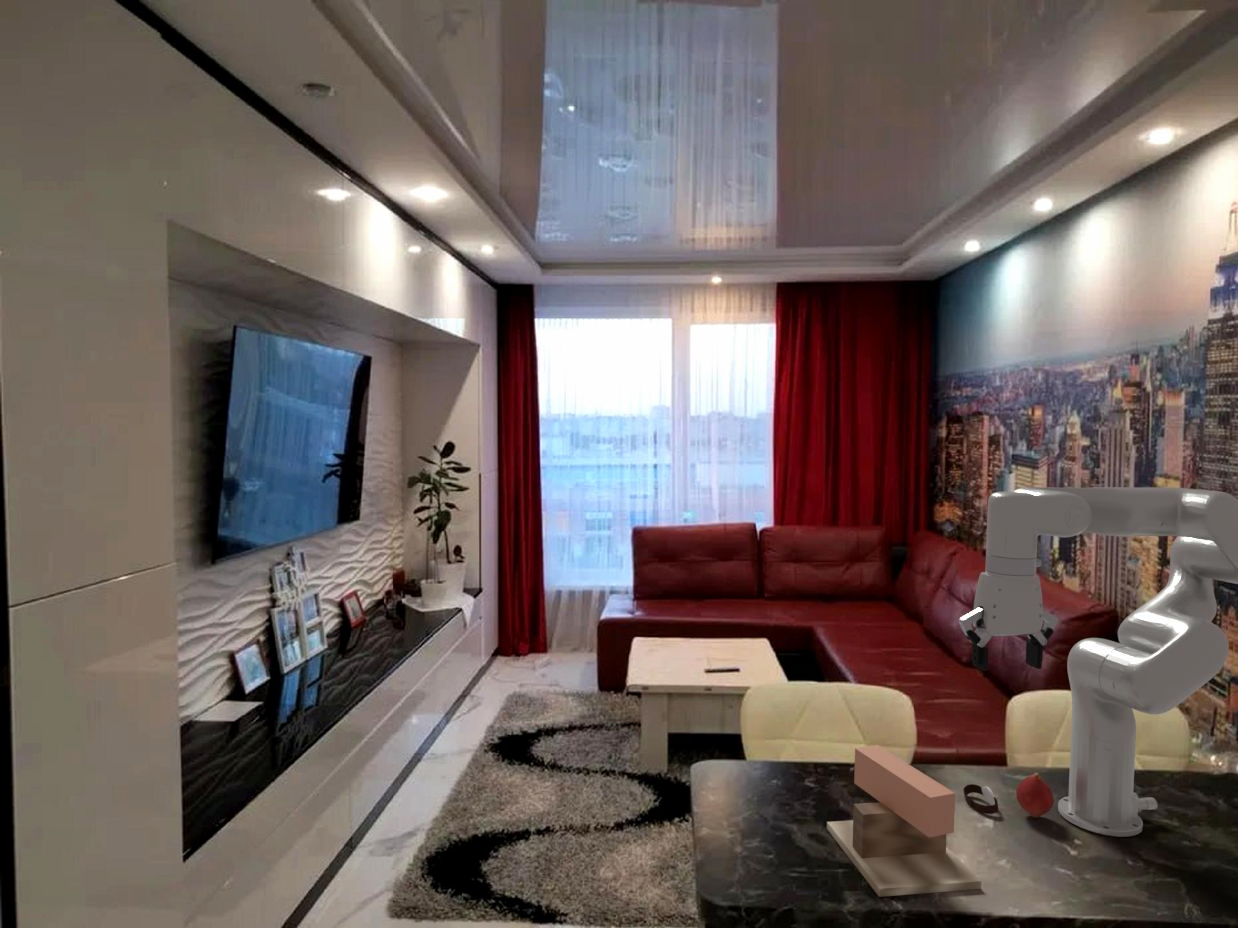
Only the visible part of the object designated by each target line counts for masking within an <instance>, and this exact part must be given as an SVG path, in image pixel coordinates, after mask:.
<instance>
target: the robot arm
mask: <svg viewBox="0 0 1238 928" xmlns="http://www.w3.org/2000/svg"><path fill="white" fill-rule="evenodd" d="M986 517H987V518H986V544H985V545H986V546H985V547H986V548H985V571H983V572H980V574H979V576H978V577H979V578H978V580H977V584H976V588H975V589H976V590H975V594H974V595H975V596H974V602H973V608H972V611H970V612H969V613H966V614H965V615H962V616H961V617H959V619H958V624H959V626H960V629H961V630H962V634H963V635H964V636H965V637H966V638H967V639H968V641H969V642H970V643H971V645H972V647H971V648H972V649H971V650H972V651H971V660H972V661H971V662H972V665H973V667H974V668H976V669H978V670H980V671H982V672H987V671H988V670H989V647H988V646H986V645H987V644H988V642H989V641H990V640H991V639H992V637H994V636H997V637H999V636H1000V637H1002V636H1005V637H1007V636H1027V637H1028V639H1029V640H1027V641H1026V643H1025V648H1026V649H1025V663H1026V664H1025V665H1028V666H1030V667H1033V668H1034V669H1036V670H1042V665H1043V664H1042V663H1043V660H1044V659H1043V656H1044V646H1046V645H1047V643H1048V639H1050V638H1051V636H1052V635H1054V630H1055V629H1056V626H1057V624H1058V623H1059V617H1057V616H1055V615H1054V614H1052V613H1050V612H1048V611H1046V610H1044V606H1043V605H1044V603H1043V602H1044V601H1043V593H1042V592H1043V591H1042V587H1041V580H1040V576H1039V575H1038V574H1037V568H1039V567H1040V568H1041V567H1042V564H1043V563H1042V560H1041V559H1040V558H1038V557H1037V555H1038V537H1039V536H1048V537H1049V536H1050V537H1057V538H1071V537H1074V536H1078V535H1080V534H1082V533H1083V532H1085V533H1090V534H1096V535H1101V536H1102V535H1103V536H1109V537H1123V538H1124V537H1126V538H1129V537H1130V538H1131V537H1176V538H1175V539H1174V541H1172V544H1171V547H1170V550H1169V551H1170V552H1169V561H1170V562H1169V575H1168V581H1167V583H1166V585H1165V586H1164V587H1163V589H1162V590H1160V591H1159V592H1158V593H1156V594H1155V595H1154V596H1153V597H1151V598H1149V600H1147V601H1146V602H1145V603H1143V604H1142V605H1140V606H1139V607H1138V608H1137V609H1135V610H1134V611H1133V612H1132V613H1130V614H1129V615H1128V616H1126V617H1125V619H1124V620H1123V621H1122V622H1121V623H1120V625H1119V628H1118V629H1117V638H1118V642H1117V641H1114V640H1110V639H1106V638H1102V637H1100V638H1099V637H1089V638H1087V637H1086V638H1084V639H1081V640H1079V641H1078V642H1077V643H1075V644H1074V645H1073V646H1072V648H1071V649H1070V651H1069V653H1068V656H1067V663H1066V665H1067V667H1066V668H1067V675H1068V676H1067V677H1068V681H1069V687H1070V692H1071V706H1072V707H1071V729H1070V748H1069V749H1070V750H1069V751H1070V752H1069V753H1070V755H1069V756H1070V757H1069V774H1068V775H1069V776H1068V777H1069V778H1068V795H1067V796H1064V797H1062V798H1061V799H1059V801H1058V804H1057V810H1058V813H1059V814H1060V815H1061V816H1062V817H1063V819H1065V820H1066V821H1068V822H1070V823H1071V824H1073V825H1074V826H1077V827H1079V828H1080V829H1084V830H1087V831H1089V832H1092V833H1095V834H1099V835H1103V836H1110V837H1118V838H1119V837H1120V838H1125V837H1135V836H1136V835H1137V836H1138V835H1139V834H1140V833H1142V831H1143V827H1144V823H1143V819H1142V818H1141V817H1140V816H1139V815H1138V814H1139V813H1141V812H1142V811H1143V810H1146V811H1147V810H1148V811H1149V810H1157V808H1158V801H1157V800H1156V798H1154V797H1141V798H1139V795H1138V794H1137V792H1134V782H1135V779H1134V778H1135V763H1136V762H1135V760H1136V741H1137V723H1136V718H1135V713H1134V711H1133V710H1136V711H1138V712H1141V713H1144V714H1148V715H1155V716H1157V715H1161V714H1165V713H1168V712H1169V711H1171V710H1173V709H1174V708H1176V707H1177V706H1179V705H1180V704H1181V703H1182V702H1184V701H1185V700H1186V699H1188V698H1189V697H1190V696H1192V695H1193V694H1194V693H1195V692H1197V691H1198V690H1199V689H1200V688H1202V687H1203V686H1204V685H1206V683H1208V682H1209V681H1211V680H1212V679H1213V678H1214V677H1215V676H1216V675H1217V674H1218V673H1219V672H1220V671H1221V670H1222V668H1223V667H1224V665H1225V663H1226V660H1227V658H1228V654H1229V640H1228V638H1227V636H1226V634H1225V633H1224V631H1223V629H1221V628H1220V627H1219V626H1218V625H1216V624H1214V623H1213V622H1212V621H1213V619H1214V618H1215V617H1216V615H1217V609H1218V605H1217V600H1216V596H1215V592H1214V586H1213V585H1214V584H1213V580H1216V581H1222V582H1226V583H1231V584H1236V585H1238V499H1237V498H1236V497H1234V495H1231V494H1230V493H1227V492H1225V491H1218V490H1207V489H1196V488H1186V487H1169V486H1167V487H1161V486H1160V487H1124V486H1123V487H1122V486H1117V487H1116V486H1113V487H1111V486H1106V487H1105V486H1102V487H1098V486H1097V487H1095V486H1094V487H1056V486H1055V487H1054V486H1052V487H1048V486H1047V487H1044V486H1043V487H1040V486H1037V487H1035V486H1034V487H1032V486H1030V487H1029V486H1028V487H1024V486H1023V487H1020V488H1017V489H1015V490H1013V491H995V492H992V493H991V494H990V495H989V497H988V500H987V515H986ZM1043 621H1044V622H1043ZM972 626H973V627H974V628H975V630H973V627H972Z"/></svg>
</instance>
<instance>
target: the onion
mask: <svg viewBox="0 0 1238 928" xmlns="http://www.w3.org/2000/svg"><path fill="white" fill-rule="evenodd" d="M1015 790H1016V791H1015V796H1016V800H1017V802H1018V804H1019V806H1020V807H1021V808H1022V810H1024V811H1025V812H1026V813H1028V814H1029V815H1030V817H1032V818H1034V819H1038V818H1040V817H1041V816H1043V815H1045V814H1046V813H1048V812H1049V811H1051V809H1052V808H1053V807H1054V803H1055V801H1054V800H1055V799H1054V798H1055V797H1054V794H1053V791H1052V789H1051V787H1050V786H1049V784H1047V783H1046V782H1045V781H1044V780H1043V779H1041V777H1040V774H1039V773H1038V772H1034V773H1033V774H1032V775H1030V776H1027V777H1025V778H1023V779H1022V780H1021V781H1020V782H1019V784H1018V786H1017V787H1016V789H1015Z"/></svg>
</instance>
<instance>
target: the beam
mask: <svg viewBox="0 0 1238 928" xmlns="http://www.w3.org/2000/svg"><path fill="white" fill-rule="evenodd" d="M853 777H854V778H853V779H854V782H853V783H854V784H855V785H856V786H857V787H859V789H862V790H863V791H864V792H865V793H867V794H869V795H870V796H871V797H872V798H874V799H876V800H877V802H881V803H882V804H884V805H885V806H886V807H888V808H889V809H890V810H892V811H893V812H895V813H896V814H897V815H899V816H900V817H902V818H903V819H904V820H906V821H907V822H908V823H910V824H911V825H913V826H914V827H915V828H917V829H918V830H919V831H921V832H922V833H924V834H925V835H926V836H928V837H934V836H939V835H944V834H946V835H947V834H948V835H949V834H953V833H955V809H956V808H955V807H956V806H955V805H956V804H955V803H956V793H955V792H954V791H952V790H951V789H950V788H948V787H946V786H944V785H943V784H941V783H939V782H938V781H936V780H934V779H933V778H931V777H930V776H928V775H927V774H925V773H923V772H921V771H920V770H918V769H917V768H915V767H914V766H912V765H910V764H909V763H907V762H906V761H904V760H903V759H900V758H899V757H898V756H895V755H894V754H893V753H891V752H890V751H888V750H887V749H885V748H883V747H881V746H880V745H878V744H876V745H868V746H862V747H856V748H854V776H853Z"/></svg>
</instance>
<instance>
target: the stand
mask: <svg viewBox="0 0 1238 928" xmlns="http://www.w3.org/2000/svg"><path fill="white" fill-rule="evenodd" d="M852 811H853V815H852V816H853V818H852V819H851V820H849V819H848V820H836V821H826V830H827V832H829V834H830V835H831V836H832V837H833V839H834V840H835V841H836V843H837V844H838V845H839V846H840V848H841V849H842V850H843V852H844V853H845V855H846V856H847V857H848V858H849V859H850V861H851V863H853V865H854V866H855V868H856V869H857V870H858V872H859V873H860V874H861V875H862V877H864V879H865V880H866V881H867V883H868V884H869V886H870V887H871V889H873V891H874V892H875V893H876V895H877V896H878V898H880V897H881V898H882V897H892V896H905V895H908V896H909V895H918V894H932V893H933V894H934V893H944V892H957V891H960V892H961V891H970V890H971V891H972V890H981V889H982V880H981V879H980V878H979V877H978V876H977V875H976V874H975V873H974V872H973V871H972V870H971V869H970V868H969V867H968V866H967V865H966V864H965V863H964V862H963V861H962V860H961V859H960V858H959V857H957V855H955V854H954V852H953V851H951V849H949V848H948V847H947V834H944V835H939V836H934V837H928V836H926V835H925V834H924V833H922V832H921V831H919V830H918V829H917V828H915V827H914V826H913V825H911V824H910V823H908V822H907V821H906V820H904V819H903V818H902V817H900V816H899V815H897V814H896V813H895V812H893V811H892V810H890V809H889V808H888V807H886V806H885V805H884V804H882V803H881V802H879V801H877V802H863V803H861V802H859V803H853V810H852Z"/></svg>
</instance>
